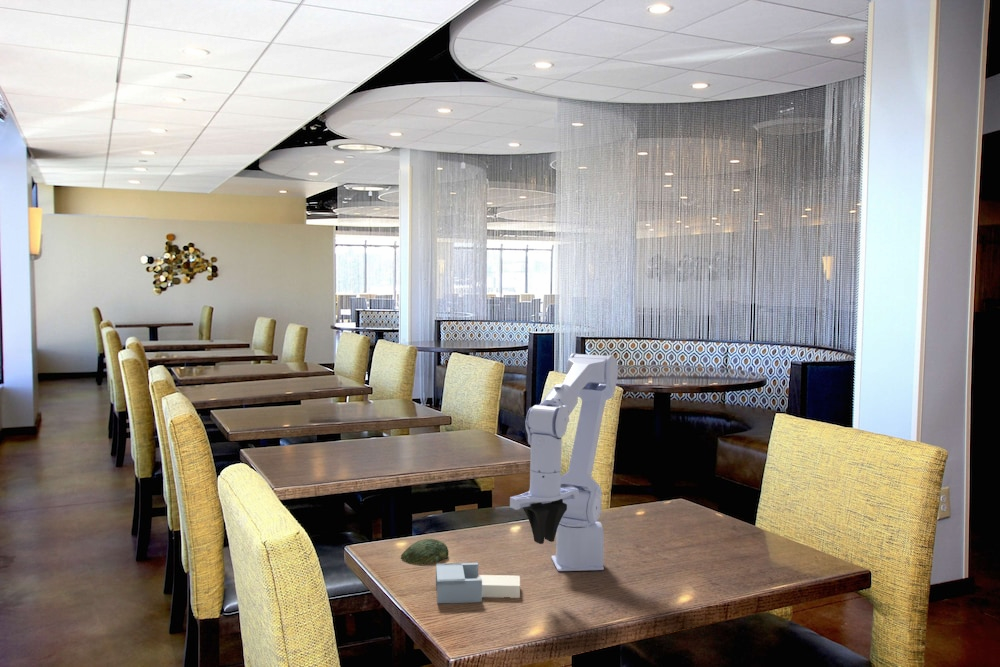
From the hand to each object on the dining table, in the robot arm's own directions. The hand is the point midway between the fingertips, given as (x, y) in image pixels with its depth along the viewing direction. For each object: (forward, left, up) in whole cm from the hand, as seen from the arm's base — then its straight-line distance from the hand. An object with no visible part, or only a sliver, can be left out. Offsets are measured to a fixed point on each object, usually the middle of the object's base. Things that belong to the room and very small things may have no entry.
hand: (544, 541), depth 145 cm
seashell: (+22, -20, -10) cm, 31 cm away
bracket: (+16, 0, -9) cm, 19 cm away
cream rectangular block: (+9, 0, -10) cm, 13 cm away
